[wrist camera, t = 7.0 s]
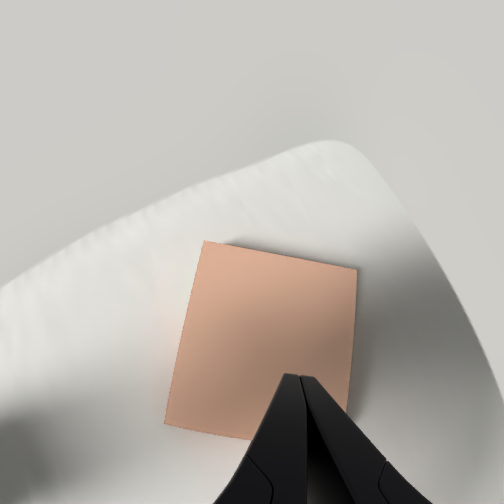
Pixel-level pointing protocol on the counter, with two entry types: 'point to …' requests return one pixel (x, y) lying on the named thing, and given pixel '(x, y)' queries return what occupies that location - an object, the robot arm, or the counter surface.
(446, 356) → the counter surface
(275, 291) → the tile
